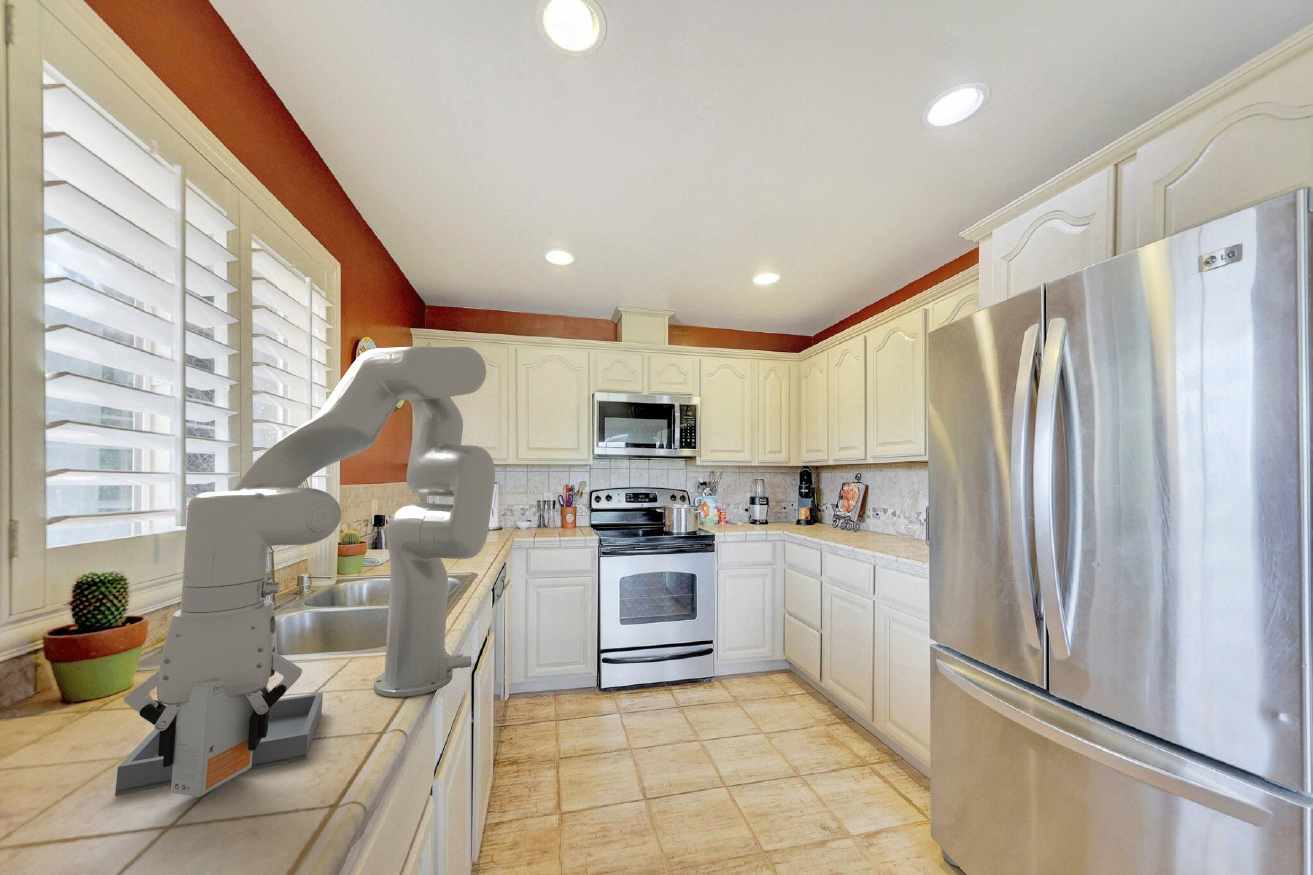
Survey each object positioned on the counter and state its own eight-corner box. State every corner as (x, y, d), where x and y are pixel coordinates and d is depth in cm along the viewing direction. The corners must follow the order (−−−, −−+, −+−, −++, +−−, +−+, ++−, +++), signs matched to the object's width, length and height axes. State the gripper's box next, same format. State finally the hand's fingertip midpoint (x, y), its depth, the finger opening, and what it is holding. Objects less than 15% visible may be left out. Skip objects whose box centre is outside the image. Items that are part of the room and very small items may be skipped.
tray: (321, 713, 78) (322, 692, 78) (306, 759, 65) (307, 734, 66) (166, 738, 70) (168, 714, 70) (114, 795, 57) (117, 766, 58)
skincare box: (200, 798, 55) (207, 685, 56) (169, 793, 56) (176, 682, 57) (254, 767, 61) (260, 665, 62) (225, 762, 62) (231, 662, 63)
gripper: (317, 582, 67) (309, 722, 66) (140, 596, 59) (128, 754, 58) (307, 596, 60) (299, 751, 59) (106, 612, 53) (93, 791, 52)
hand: (214, 751), depth 59 cm, fingers closed on skincare box, 6 cm apart
